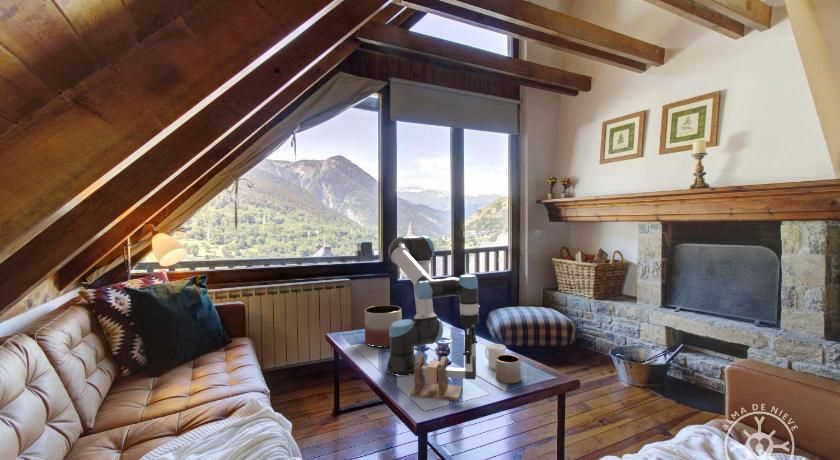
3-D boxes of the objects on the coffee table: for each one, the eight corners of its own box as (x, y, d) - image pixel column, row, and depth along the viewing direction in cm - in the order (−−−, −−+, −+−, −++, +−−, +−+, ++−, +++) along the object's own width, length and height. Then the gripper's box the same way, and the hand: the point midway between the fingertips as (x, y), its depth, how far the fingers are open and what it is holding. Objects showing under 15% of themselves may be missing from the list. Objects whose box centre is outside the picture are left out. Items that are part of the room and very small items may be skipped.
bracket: (409, 396, 162) (409, 363, 162) (416, 385, 173) (415, 354, 172) (458, 400, 157) (457, 366, 157) (462, 388, 168) (461, 357, 167)
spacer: (427, 383, 162) (426, 366, 162) (430, 376, 169) (430, 360, 169) (436, 384, 161) (436, 367, 161) (440, 377, 168) (439, 361, 168)
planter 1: (401, 348, 223) (400, 313, 222) (362, 349, 223) (361, 313, 222) (403, 336, 245) (402, 304, 244) (368, 337, 245) (367, 305, 244)
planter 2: (493, 375, 181) (492, 354, 181) (516, 374, 182) (515, 353, 182) (500, 385, 170) (499, 363, 170) (524, 383, 171) (524, 362, 171)
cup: (497, 371, 185) (496, 350, 185) (479, 364, 195) (479, 344, 195) (509, 367, 190) (509, 346, 190) (492, 360, 200) (491, 340, 200)
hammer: (417, 375, 165) (417, 356, 164) (419, 371, 168) (419, 353, 168) (475, 379, 159) (474, 360, 159) (476, 375, 163) (475, 356, 162)
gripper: (475, 321, 147) (477, 377, 148) (481, 306, 172) (482, 355, 172) (455, 320, 149) (457, 376, 150) (464, 306, 173) (465, 354, 174)
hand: (470, 365), depth 161 cm, fingers open, 13 cm apart
